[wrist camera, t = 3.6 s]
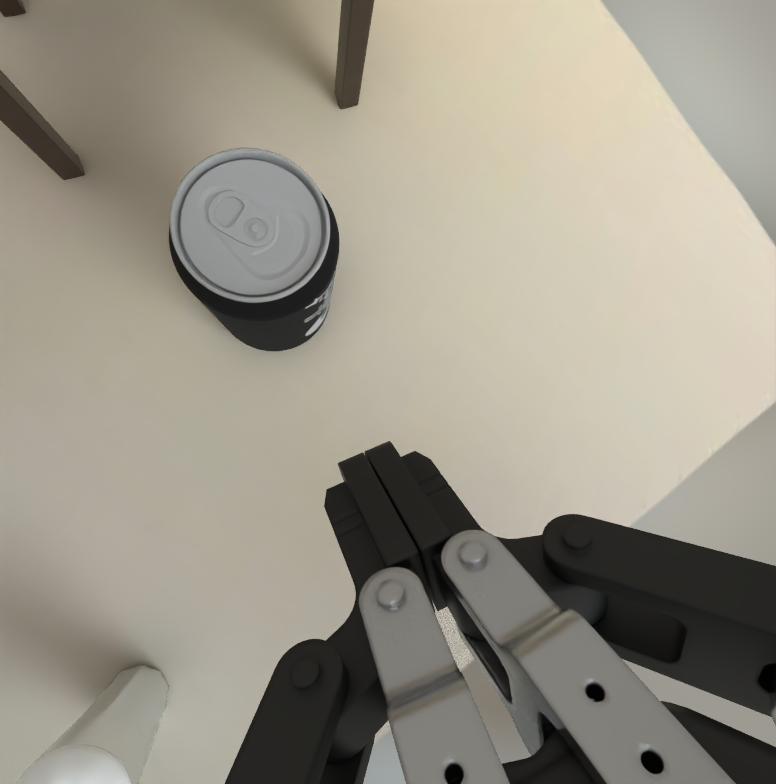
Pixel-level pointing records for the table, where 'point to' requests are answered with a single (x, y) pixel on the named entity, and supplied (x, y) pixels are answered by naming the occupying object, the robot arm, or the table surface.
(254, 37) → the table surface
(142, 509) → the table surface
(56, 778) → the milkshake
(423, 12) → the table surface
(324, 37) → the table surface
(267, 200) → the beverage can
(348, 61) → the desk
